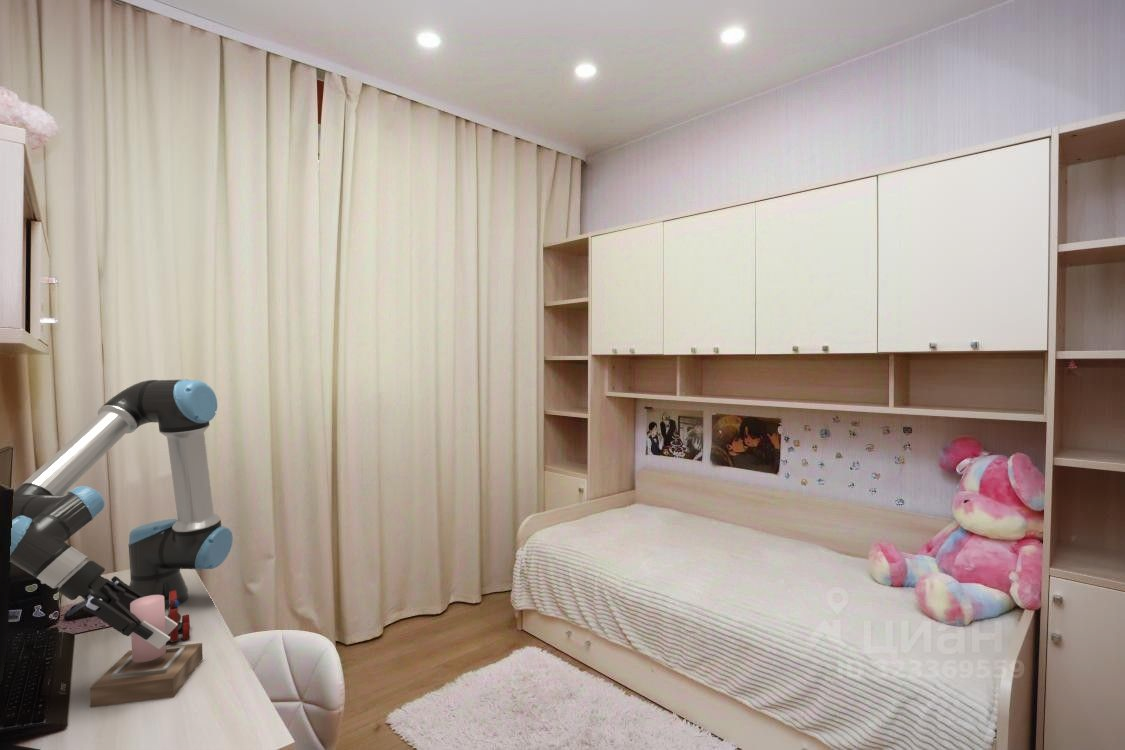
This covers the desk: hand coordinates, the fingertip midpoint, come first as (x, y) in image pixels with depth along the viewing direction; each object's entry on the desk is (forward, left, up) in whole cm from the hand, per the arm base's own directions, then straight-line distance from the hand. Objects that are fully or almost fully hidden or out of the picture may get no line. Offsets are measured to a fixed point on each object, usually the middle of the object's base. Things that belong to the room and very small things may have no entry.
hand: (168, 636), depth 126 cm
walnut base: (+1, -4, -9) cm, 10 cm away
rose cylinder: (+1, -4, -3) cm, 5 cm away
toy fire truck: (-20, -8, -10) cm, 24 cm away
